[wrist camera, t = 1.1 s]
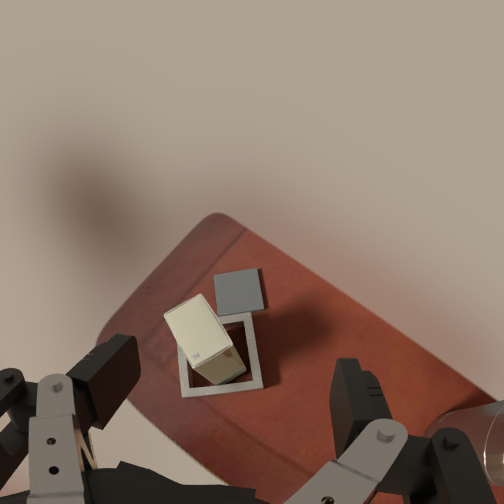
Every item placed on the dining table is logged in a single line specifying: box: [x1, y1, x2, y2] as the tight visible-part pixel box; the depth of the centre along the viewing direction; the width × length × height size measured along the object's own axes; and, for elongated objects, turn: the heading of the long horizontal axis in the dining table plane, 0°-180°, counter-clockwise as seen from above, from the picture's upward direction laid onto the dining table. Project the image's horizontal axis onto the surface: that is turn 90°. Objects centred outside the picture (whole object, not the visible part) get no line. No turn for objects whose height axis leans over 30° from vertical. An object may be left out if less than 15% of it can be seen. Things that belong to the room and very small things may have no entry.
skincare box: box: [164, 294, 247, 386], centre depth 32 cm, size 6×4×12 cm
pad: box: [214, 268, 264, 317], centre depth 42 cm, size 6×6×1 cm
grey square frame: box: [177, 312, 264, 399], centre depth 36 cm, size 10×10×2 cm
